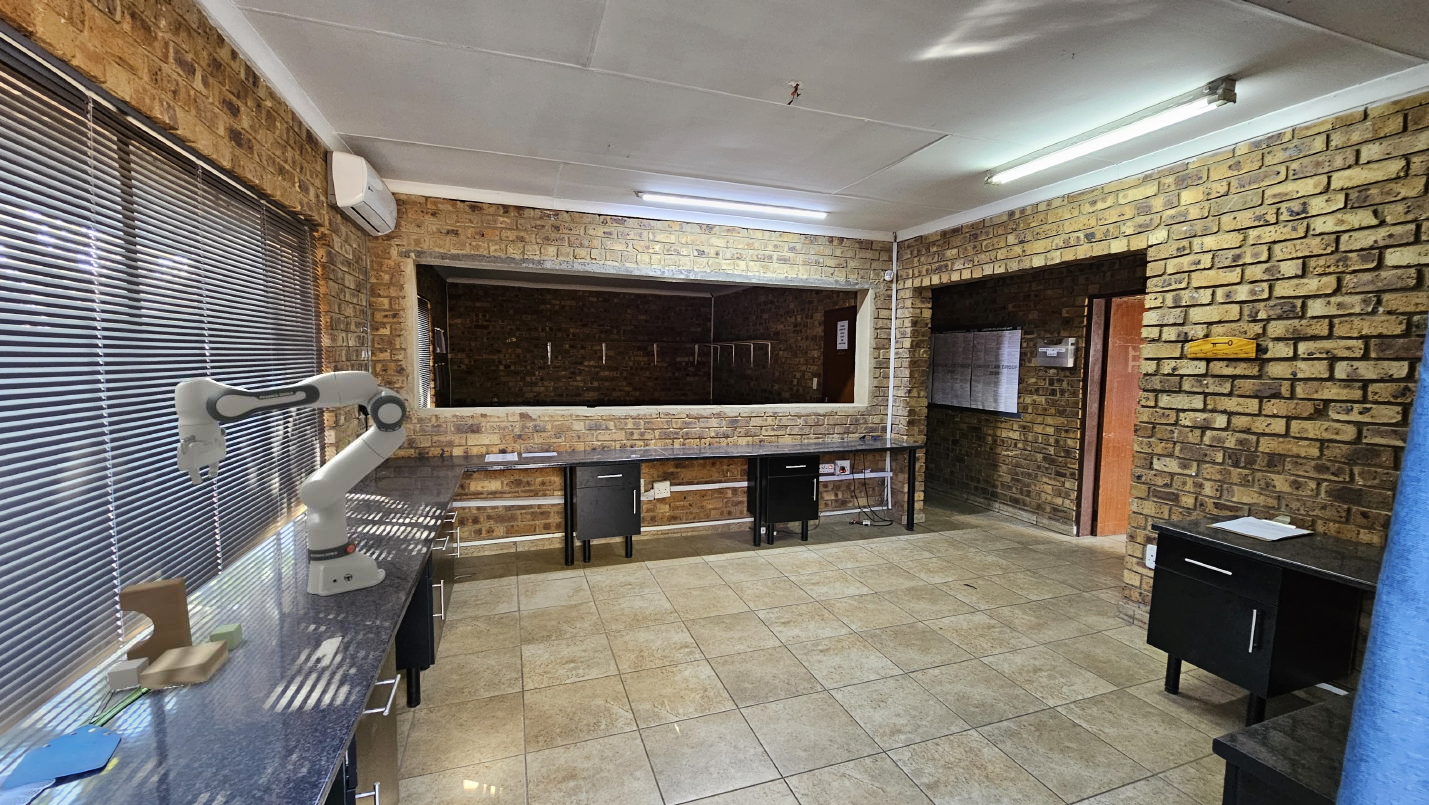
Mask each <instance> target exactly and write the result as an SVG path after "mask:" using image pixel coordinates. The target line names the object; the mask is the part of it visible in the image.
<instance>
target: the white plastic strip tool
mask: <svg viewBox="0 0 1429 805" xmlns="http://www.w3.org/2000/svg"><path fill="white" fill-rule="evenodd" d="M342 640H343V637H342V636H338V637H332V638H329V639H326V640H324V641H323V642H322V644H321V646H320V647H319V649H318V651H317V653H316V654H315V657H314V658H313V660H315V659H323V657H324V656H325V660H323V663H322V664H321V665H320V668H325V667H329V666H330V664H331V662H332V660H333V658H334V656H335V654H336V652H337V650H338V648H339V646H340V644H341V642H342Z"/></svg>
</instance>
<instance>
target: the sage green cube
mask: <svg viewBox="0 0 1429 805" xmlns="http://www.w3.org/2000/svg"><path fill="white" fill-rule="evenodd" d="M242 630H243V629H242V622H236V623H231V624H224V625H218V626H217V627H216V628H214V630H213V631H212V632H211V633H210V634H209V643H211V642H217V641H222V640H227V648H228V651H229V650H234V649H236V648H237V647H238V646H239V645H240V644H241V643H242V641H243V640H244V638H243V637H244V636H243V631H242Z"/></svg>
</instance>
